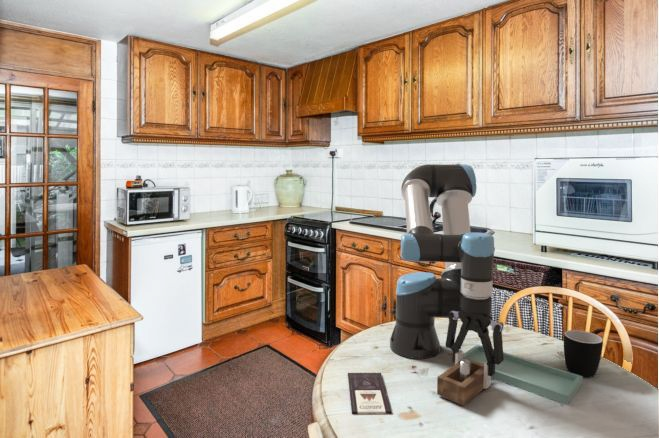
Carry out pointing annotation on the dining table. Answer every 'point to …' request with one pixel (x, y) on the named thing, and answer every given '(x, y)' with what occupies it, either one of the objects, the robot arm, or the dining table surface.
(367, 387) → the chocolate bar
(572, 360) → the mug
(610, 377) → the dining table surface
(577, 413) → the dining table surface
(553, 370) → the tray
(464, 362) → the silver cylindrical piece
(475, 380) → the wooden rectangular frame
